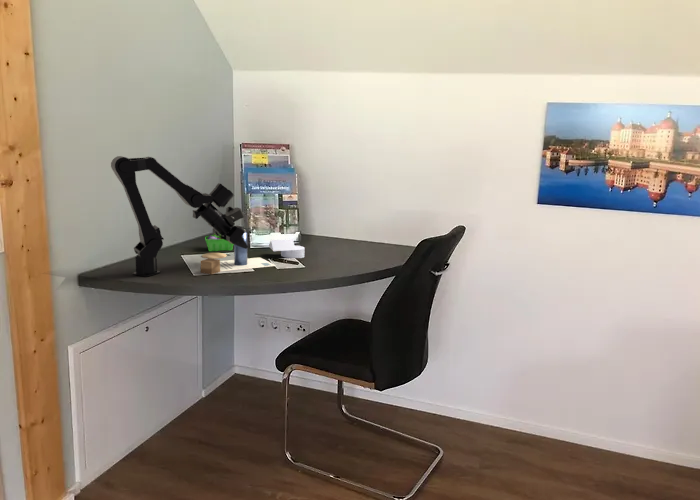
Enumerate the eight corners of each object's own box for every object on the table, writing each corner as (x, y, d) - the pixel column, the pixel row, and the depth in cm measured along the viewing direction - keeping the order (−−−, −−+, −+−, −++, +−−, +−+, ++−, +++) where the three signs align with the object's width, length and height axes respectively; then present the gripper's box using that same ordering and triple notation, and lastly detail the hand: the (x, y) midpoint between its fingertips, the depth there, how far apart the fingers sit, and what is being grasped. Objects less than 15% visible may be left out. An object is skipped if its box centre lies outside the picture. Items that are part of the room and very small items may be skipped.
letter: (219, 272, 212) (219, 271, 212) (205, 263, 225) (205, 262, 225) (276, 266, 223) (276, 265, 223) (260, 258, 235) (260, 257, 235)
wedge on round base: (273, 259, 233) (307, 258, 238) (273, 242, 232) (307, 240, 236) (268, 254, 242) (301, 253, 246) (268, 237, 240) (301, 236, 245)
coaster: (217, 260, 230) (217, 258, 229) (197, 257, 233) (197, 256, 233) (231, 255, 238) (231, 254, 237) (211, 253, 241) (211, 251, 241)
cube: (211, 275, 208) (211, 262, 207) (200, 273, 210) (200, 260, 209) (220, 272, 212) (219, 259, 211) (209, 271, 214) (209, 258, 213)
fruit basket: (205, 252, 243) (204, 223, 241) (205, 247, 251) (204, 219, 249) (235, 251, 246) (235, 223, 243) (234, 247, 254) (234, 219, 252)
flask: (242, 266, 221) (242, 231, 218) (231, 264, 222) (231, 229, 220) (249, 263, 225) (249, 229, 222) (239, 262, 227) (238, 228, 224)
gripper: (239, 203, 209) (269, 234, 217) (220, 197, 225) (249, 225, 233) (216, 228, 207) (248, 258, 215) (199, 220, 222) (229, 248, 230)
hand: (244, 246), depth 223 cm, fingers closed on flask, 5 cm apart
